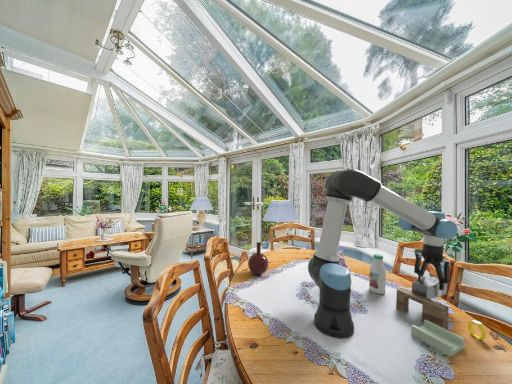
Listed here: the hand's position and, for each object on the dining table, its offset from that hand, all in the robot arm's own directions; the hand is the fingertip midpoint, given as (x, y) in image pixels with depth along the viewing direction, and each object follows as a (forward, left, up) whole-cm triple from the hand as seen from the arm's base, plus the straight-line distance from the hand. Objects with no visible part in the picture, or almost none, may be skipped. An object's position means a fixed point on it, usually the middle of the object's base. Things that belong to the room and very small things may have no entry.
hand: (430, 292), depth 101 cm
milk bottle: (-6, +22, -8) cm, 24 cm away
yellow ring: (-6, -18, -8) cm, 21 cm away
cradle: (-23, -13, -8) cm, 28 cm away
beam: (-12, -2, -8) cm, 15 cm away
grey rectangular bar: (-1, 0, -1) cm, 1 cm away
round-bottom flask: (-57, +68, -8) cm, 89 cm away
